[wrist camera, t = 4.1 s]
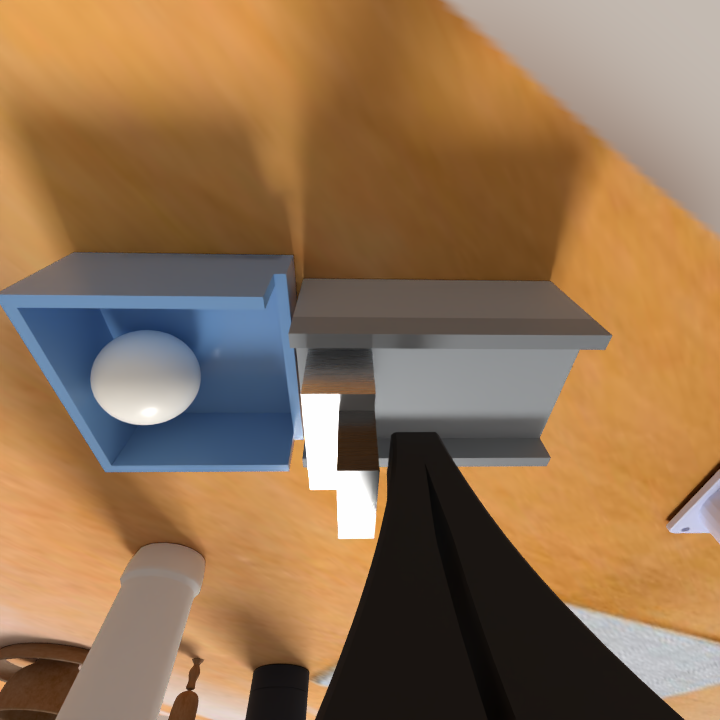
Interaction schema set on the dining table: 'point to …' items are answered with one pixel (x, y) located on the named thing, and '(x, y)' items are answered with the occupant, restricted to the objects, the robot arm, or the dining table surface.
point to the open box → (192, 326)
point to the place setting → (60, 682)
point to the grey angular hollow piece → (343, 434)
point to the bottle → (138, 638)
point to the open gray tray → (454, 357)
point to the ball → (145, 377)
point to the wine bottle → (278, 693)
